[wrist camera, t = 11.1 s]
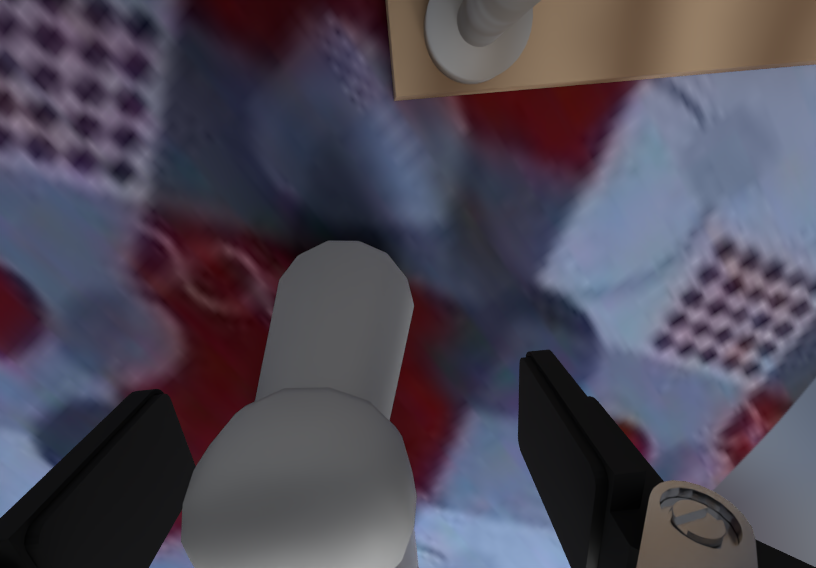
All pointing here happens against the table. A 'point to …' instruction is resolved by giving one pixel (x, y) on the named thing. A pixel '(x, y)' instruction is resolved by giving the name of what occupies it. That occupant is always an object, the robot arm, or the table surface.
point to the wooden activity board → (587, 41)
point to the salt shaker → (315, 429)
